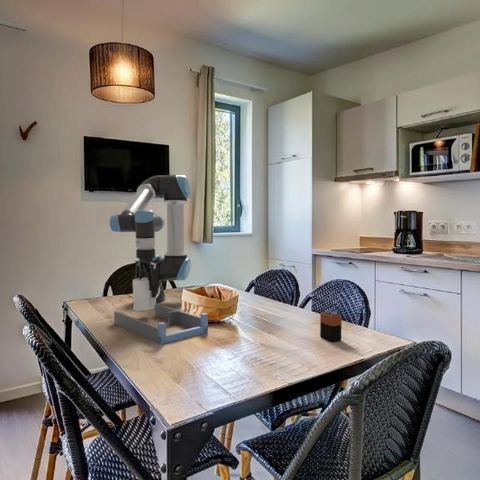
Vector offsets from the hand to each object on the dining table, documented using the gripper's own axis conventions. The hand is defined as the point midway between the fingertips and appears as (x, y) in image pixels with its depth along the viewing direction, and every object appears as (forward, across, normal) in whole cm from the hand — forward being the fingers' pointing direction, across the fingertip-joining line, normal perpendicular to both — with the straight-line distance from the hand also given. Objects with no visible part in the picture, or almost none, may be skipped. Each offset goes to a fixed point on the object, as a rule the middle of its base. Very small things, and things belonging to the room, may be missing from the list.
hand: (147, 303), depth 162 cm
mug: (+2, 0, 0) cm, 2 cm away
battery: (+8, +65, +36) cm, 74 cm away
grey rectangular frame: (+8, +9, -1) cm, 12 cm away
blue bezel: (+8, +27, -1) cm, 28 cm away
